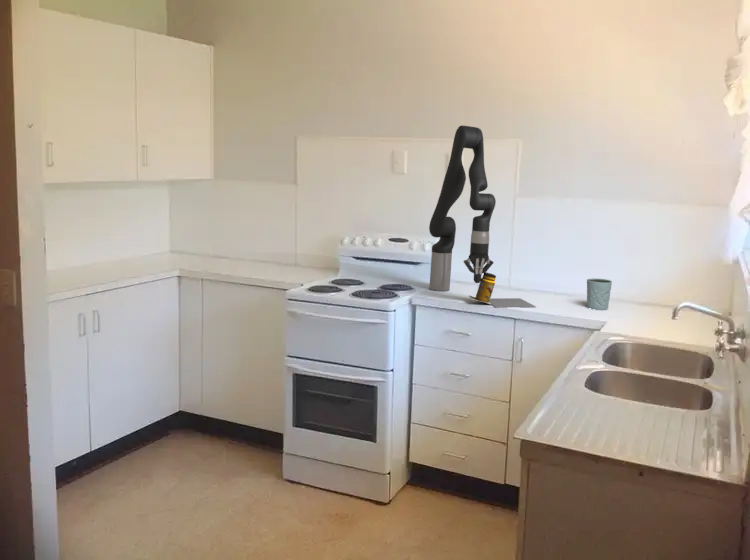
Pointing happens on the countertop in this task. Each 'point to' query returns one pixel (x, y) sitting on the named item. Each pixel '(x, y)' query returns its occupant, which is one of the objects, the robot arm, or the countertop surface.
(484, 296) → the condiment
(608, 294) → the green embossed plant pot
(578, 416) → the countertop surface
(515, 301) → the mat
